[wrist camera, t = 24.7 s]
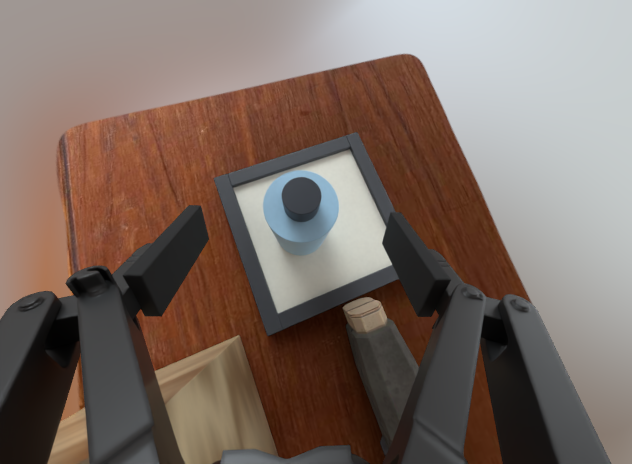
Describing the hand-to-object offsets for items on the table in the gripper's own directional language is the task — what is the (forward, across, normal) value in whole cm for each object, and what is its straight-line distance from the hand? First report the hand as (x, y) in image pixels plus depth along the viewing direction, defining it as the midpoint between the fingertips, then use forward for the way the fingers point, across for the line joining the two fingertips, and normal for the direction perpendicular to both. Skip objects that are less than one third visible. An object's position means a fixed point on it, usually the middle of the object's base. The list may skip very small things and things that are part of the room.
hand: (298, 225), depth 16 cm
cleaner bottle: (+8, 0, -5) cm, 9 cm away
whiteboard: (+9, +2, -6) cm, 11 cm away
